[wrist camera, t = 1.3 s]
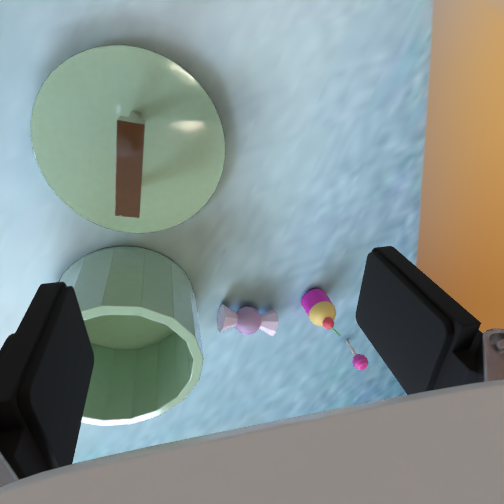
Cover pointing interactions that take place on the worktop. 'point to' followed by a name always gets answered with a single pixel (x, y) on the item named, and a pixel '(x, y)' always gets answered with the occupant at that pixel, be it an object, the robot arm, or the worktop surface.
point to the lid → (127, 139)
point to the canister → (136, 333)
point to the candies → (251, 320)
